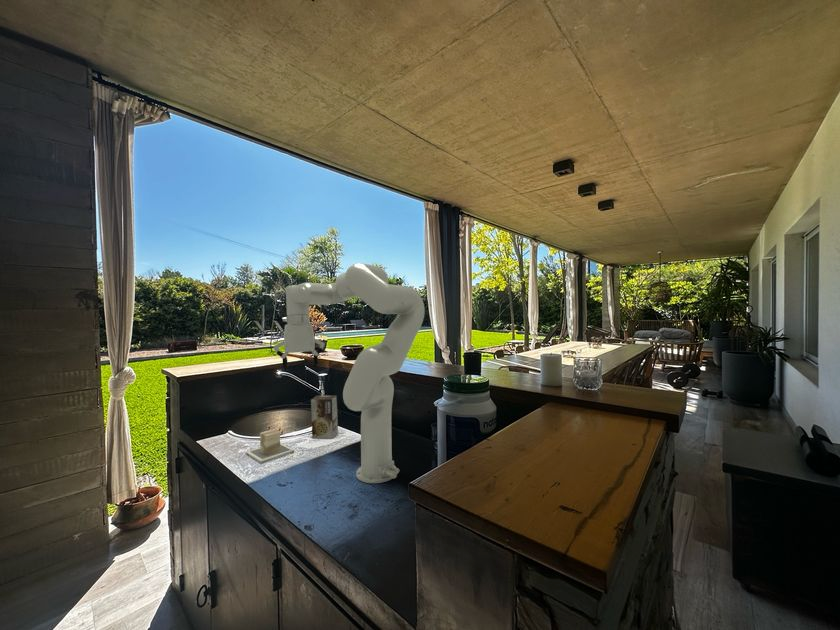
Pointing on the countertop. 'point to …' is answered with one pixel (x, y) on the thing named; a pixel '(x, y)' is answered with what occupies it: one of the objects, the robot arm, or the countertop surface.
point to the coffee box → (324, 416)
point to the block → (270, 442)
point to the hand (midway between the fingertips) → (300, 368)
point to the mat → (263, 458)
